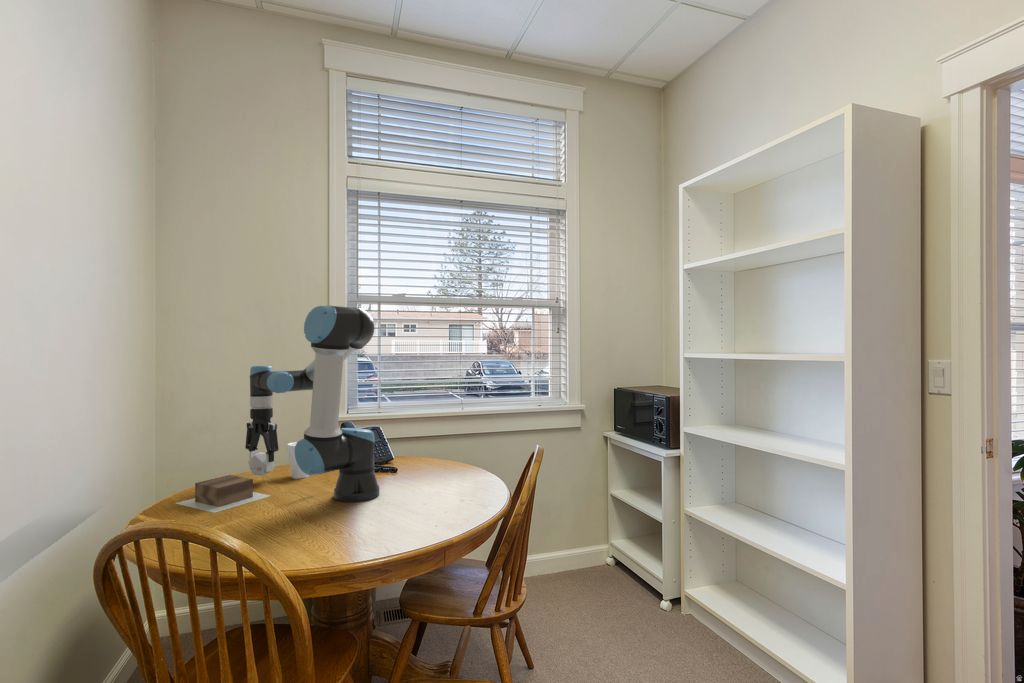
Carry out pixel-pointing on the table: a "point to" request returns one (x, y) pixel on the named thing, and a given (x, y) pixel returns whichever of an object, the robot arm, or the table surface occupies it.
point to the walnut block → (223, 490)
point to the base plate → (216, 509)
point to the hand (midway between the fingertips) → (261, 469)
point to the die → (258, 464)
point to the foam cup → (294, 463)
